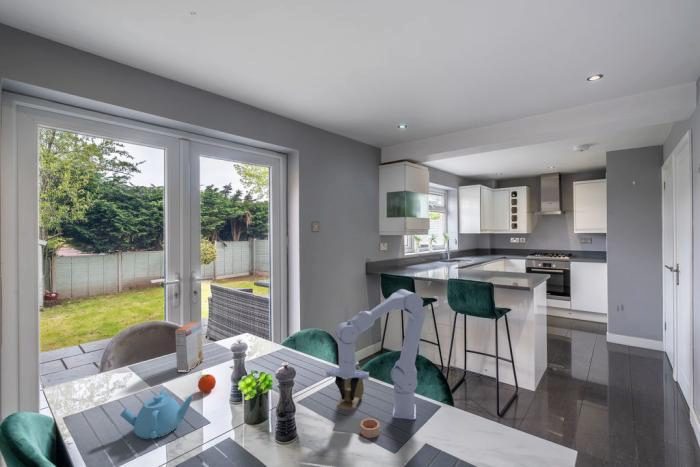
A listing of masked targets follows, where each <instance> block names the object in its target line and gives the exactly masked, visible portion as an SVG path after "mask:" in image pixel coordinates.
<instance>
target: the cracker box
mask: <svg viewBox="0 0 700 467" xmlns="http://www.w3.org/2000/svg"><path fill="white" fill-rule="evenodd" d="M202 330H203V329H202V322H201V321H191V322H189V323H186V324H184V326H180V327H179V328H177V329H175V331H174V334H175V353H176V354H175V356H176V371H177V370H186V371H188V370H189V369H191V368H192V367H194V366H195V365H197V364H198V363H199V362H201V361H202V360H203V361H204V354H203V333H202ZM203 361H202V362H203ZM202 362H201V363H202ZM197 366H198V365H197Z"/></svg>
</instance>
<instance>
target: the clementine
mask: <svg viewBox="0 0 700 467" xmlns="http://www.w3.org/2000/svg"><path fill="white" fill-rule="evenodd" d="M199 378H200V379H199ZM197 380H198V382H197V388H198V389H199V391H200V392H202V393H209V392H211V391H212V390H214V388H215V387H216V385H217V384H216V382H217V381H216V378H215V376H214V375H212V374H202V375H201V376H200V377H198V378H197Z"/></svg>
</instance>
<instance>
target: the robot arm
mask: <svg viewBox="0 0 700 467" xmlns="http://www.w3.org/2000/svg"><path fill="white" fill-rule="evenodd" d="M423 305H424V300H423V298H422V297H421V296H420V295H419V294H418V293H415V292H412V291H409V290H407V289H404V288H401V289H398V290H397V291H395V292H393V293H392V294H391V295H390V296H389V297H387V298H386V299H385V300H383V301H382V302H381V303H379V304H378V305H376V306H375V307H374V308H372V309H371V310H369V311H367V310H364V311H362V310H361V311H358V314H357V315H355V316H354V317H352V318H351V319H347V320H346V321H345V322H341V323H340V324H338V325H337V327H336V330H335V336H337V337H338V338H337V339H338V341H337V342H338V346H337V350H338V368H334V369H332V368H331V369H327V370H326V371H325V377H326V378H330V377H333V378H335V380H334V383H335V385H336V386H337V388H338V391H339V393H340V397H342V400H344V389H345V379H348V378H352V379H351V381H350V385H351V400H352V401H353V400H354V396H355V390H356V386H357V383H358V381H359V379H363V380H365V381H369V378H370V371H364V370H362V371H360V370H356V363H355V358H356V344H355V343H356V340H357V339H358V337H359V336H358V335H360V334H362V333H363V332H365V331H367V330H368V329H370V328H371V327H372V326H374V324H375V321H376V320H378V319H379V318H380V317H382V316H384V315H386V314H387V313H390V312H391V311H393V310H400V311H401V310H402V311H404V312H405V313H406V315H407V317H408V319H407V323H406V328H405V333H404V338H403V342H402V347H401V351H400V352H401V353H400V357H399V359H398V360H396V361H395V363H394V366H393V368H392V369H391V371H390V379H391V380H392V381H393V403H394V404H393V409H392V410H393V411H392V418H397V419H404V420H405V419H407V420H412V421H413V420H414V421H415V420H416V418H417V417H416V416H417V405H416V404H415V390H416V388H417V387H418V378H417V377H418V371H417V368H416V364H415V363H416V359H417V355H418V354H417V353H418V349H419V344H420V339H421V336H422V330H423V327H424V320H425V315H426V314H425V310H424V306H423Z"/></svg>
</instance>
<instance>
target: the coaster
mask: <svg viewBox="0 0 700 467" xmlns="http://www.w3.org/2000/svg"><path fill="white" fill-rule="evenodd" d="M362 420H364V417H358V416H347V415H338V416H337V419H336V421H335V423H334V426H333V428H332V430H331V431H332V432H341V433H350V434H360V432H361V431H360V425H361V421H362Z"/></svg>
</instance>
